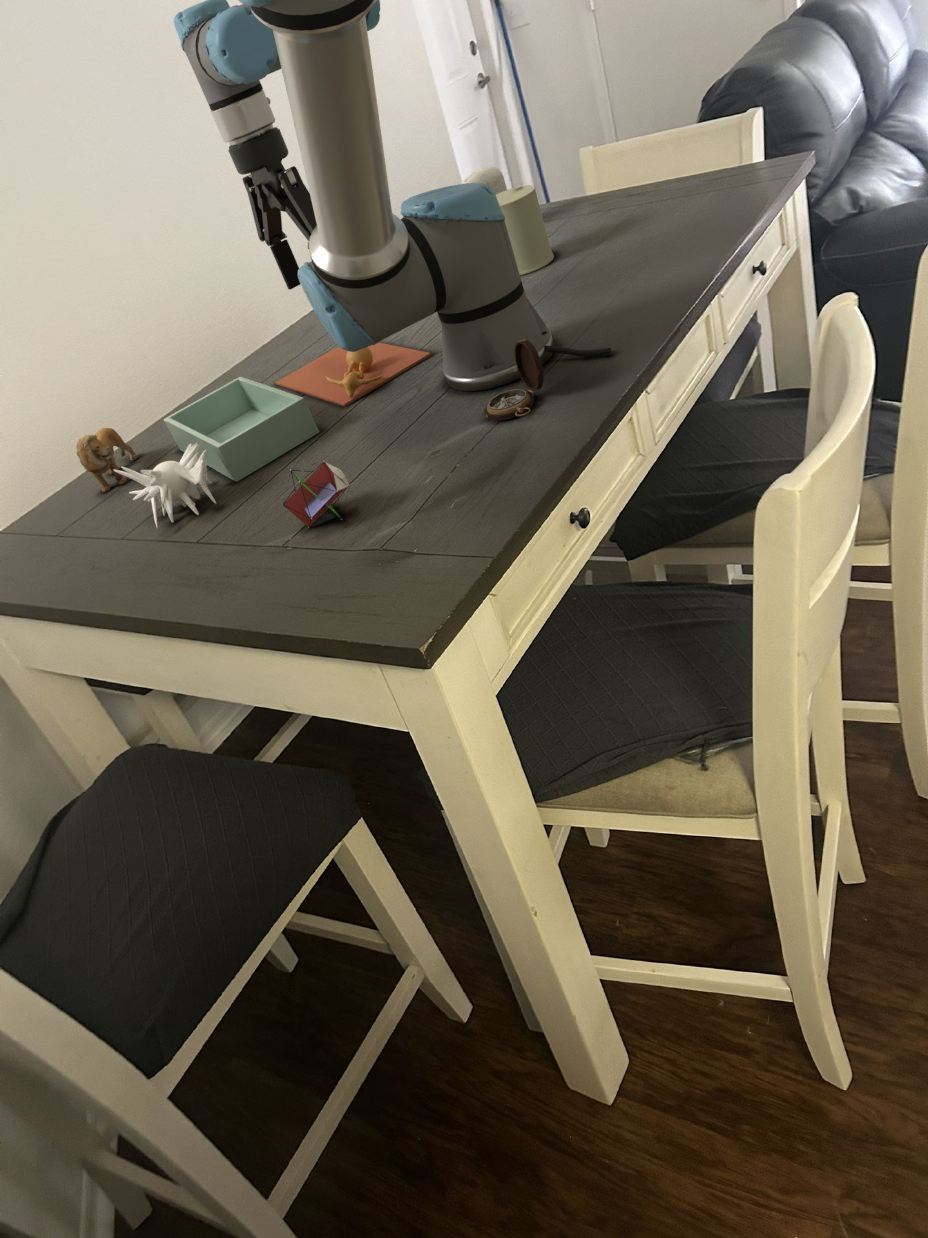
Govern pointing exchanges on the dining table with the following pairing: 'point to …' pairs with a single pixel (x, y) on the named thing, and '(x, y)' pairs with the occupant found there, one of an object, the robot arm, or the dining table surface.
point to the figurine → (357, 363)
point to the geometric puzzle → (317, 493)
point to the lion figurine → (102, 454)
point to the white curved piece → (488, 179)
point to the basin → (242, 426)
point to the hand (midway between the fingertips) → (316, 287)
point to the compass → (517, 399)
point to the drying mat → (335, 366)
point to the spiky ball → (173, 482)
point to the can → (525, 228)
